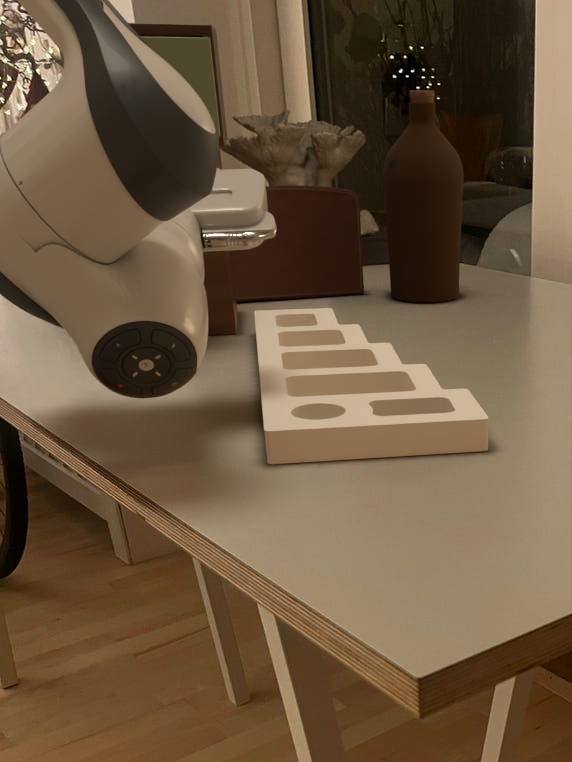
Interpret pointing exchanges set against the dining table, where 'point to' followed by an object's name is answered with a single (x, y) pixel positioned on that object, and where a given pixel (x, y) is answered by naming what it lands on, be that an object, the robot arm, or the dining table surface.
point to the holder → (353, 395)
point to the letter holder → (304, 247)
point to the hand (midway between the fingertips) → (144, 165)
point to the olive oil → (423, 208)
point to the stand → (219, 262)
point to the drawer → (188, 65)
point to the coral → (305, 162)
